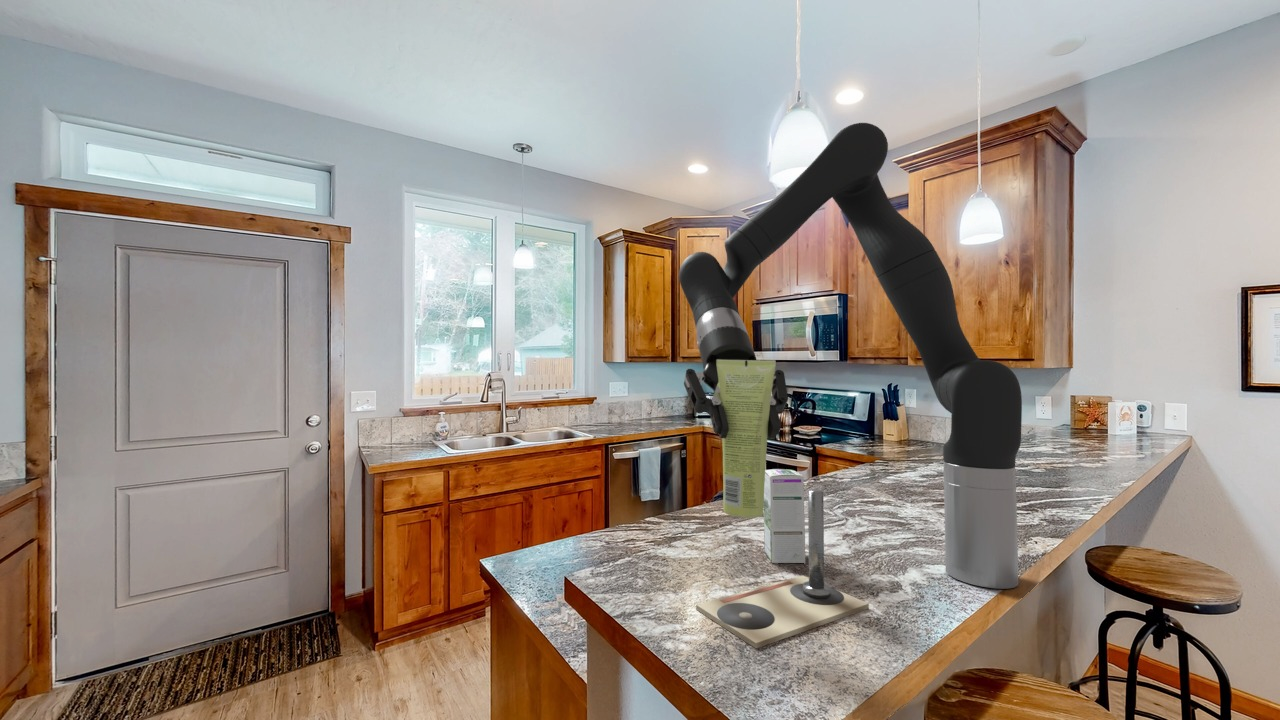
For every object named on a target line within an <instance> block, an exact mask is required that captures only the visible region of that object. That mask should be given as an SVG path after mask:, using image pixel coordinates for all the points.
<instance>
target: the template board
mask: <svg viewBox="0 0 1280 720" xmlns="http://www.w3.org/2000/svg"><path fill="white" fill-rule="evenodd" d="M807 581H809V576H804V575H798V576H796V577H792V578H789V579H785V580H780V581H778V582H774V583H770V584H766V585H764V586H759V587H755V588H752V589H749V590H745V591H741V592H738V593H734V594H731V595H726V596H723V597H719V598H716V599H712V600H708V601H704V602H701V603H697V604H695V609H696V611H698V612H700V613H701V614H703V615H704V616H705V617H707V618H708V619H710V620H712V621H713V622H715V623H716V624H718V625H719V626H721V627H722V628H724V629H726V630H727V631H729V632H730V633H732V634H733V635H734V636H736V637H737V638H739V639H740V640H742V641H744V642H745V643H747V644H749V646H751V647H753V648H754V649H758V648H762V647H764V646H767V645H770V644H773V643H776V642H778V641H779V642H780V641H781V640H783V639H787V638H789V637H792V636H796V635H798V634H801V633H804V632H806V631H810V630H812V629H815V628H817V627H820V626H823V625H826V624H829V623H831V622H834V621H837V620H840V619H843V618H846V617H849V616H851V615H853V614H857V613H859V612H862V611H864V610H865V611H866V610H868V609H869V608H870V606H869V602H866V601H863V600H861V599H859V598H856V597H854V596H852V595H849V594H847V593H845V592H843V591H840V590H837V589H835V588H834V587H832V586H830V588H831V596H830V598H828V599H814V598H810V597H808V596H806V595H805V594H804V593H803V583H804V582H807Z"/></svg>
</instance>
